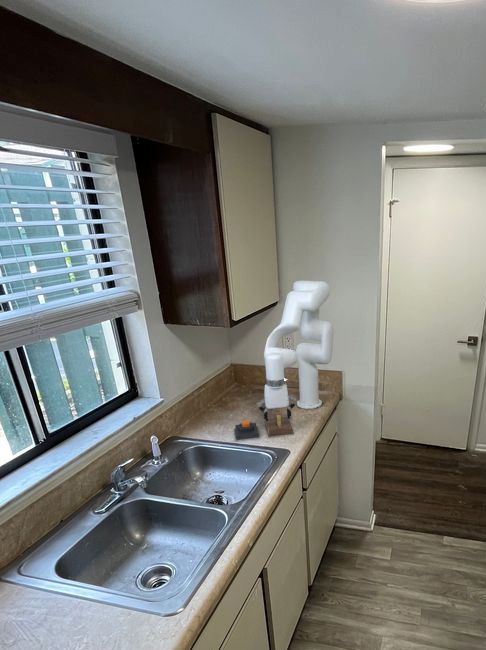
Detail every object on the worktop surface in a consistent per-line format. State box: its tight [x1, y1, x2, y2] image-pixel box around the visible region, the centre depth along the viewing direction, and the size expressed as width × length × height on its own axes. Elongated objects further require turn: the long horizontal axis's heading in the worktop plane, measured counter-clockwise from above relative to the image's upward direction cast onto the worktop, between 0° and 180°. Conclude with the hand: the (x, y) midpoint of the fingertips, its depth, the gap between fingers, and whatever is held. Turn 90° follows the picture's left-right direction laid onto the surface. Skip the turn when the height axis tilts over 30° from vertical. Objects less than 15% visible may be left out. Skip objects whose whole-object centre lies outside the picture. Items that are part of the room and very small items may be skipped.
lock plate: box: [265, 416, 293, 438], centre depth 192 cm, size 12×10×3 cm
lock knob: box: [274, 410, 282, 426], centre depth 190 cm, size 6×2×5 cm, turn 16°
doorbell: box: [234, 421, 259, 441], centre depth 188 cm, size 11×9×4 cm
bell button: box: [241, 420, 251, 427], centre depth 187 cm, size 4×4×2 cm
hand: (277, 419), depth 190 cm, fingers open, 9 cm apart
